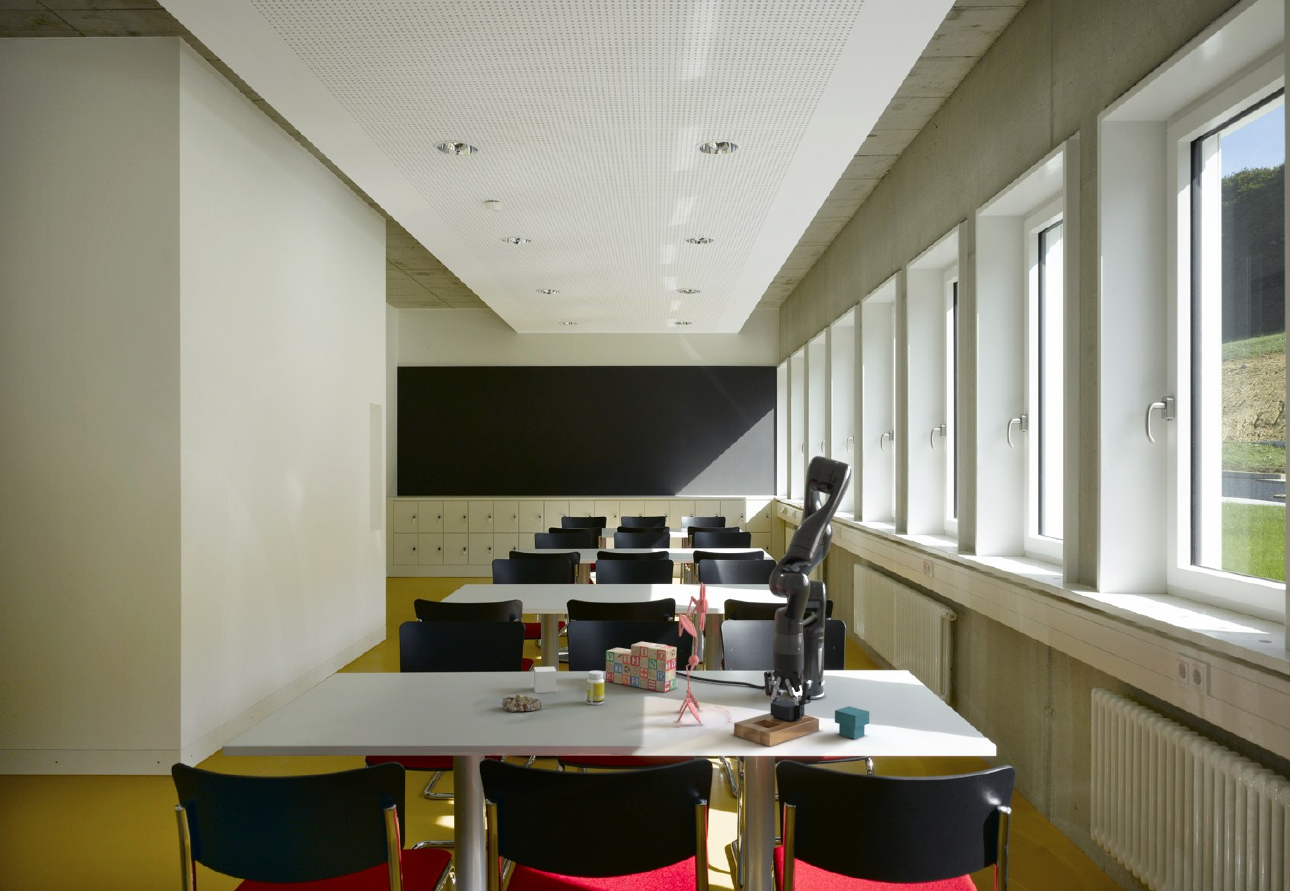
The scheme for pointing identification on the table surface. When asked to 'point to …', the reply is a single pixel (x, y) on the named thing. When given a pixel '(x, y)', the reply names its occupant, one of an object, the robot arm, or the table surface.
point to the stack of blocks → (643, 666)
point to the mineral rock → (521, 703)
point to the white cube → (544, 679)
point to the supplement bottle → (595, 688)
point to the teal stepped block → (851, 721)
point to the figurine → (693, 660)
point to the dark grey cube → (784, 710)
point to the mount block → (774, 729)
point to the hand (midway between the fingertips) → (787, 717)
